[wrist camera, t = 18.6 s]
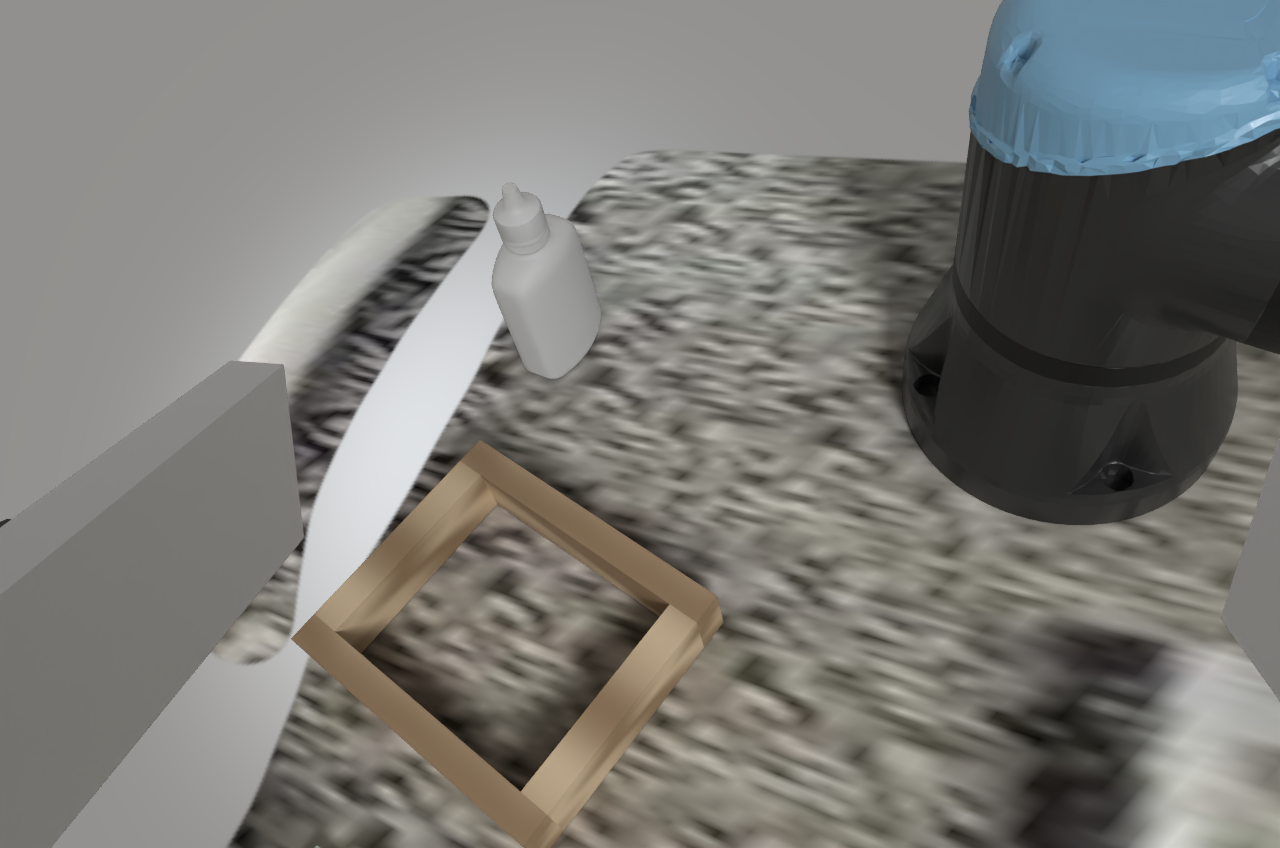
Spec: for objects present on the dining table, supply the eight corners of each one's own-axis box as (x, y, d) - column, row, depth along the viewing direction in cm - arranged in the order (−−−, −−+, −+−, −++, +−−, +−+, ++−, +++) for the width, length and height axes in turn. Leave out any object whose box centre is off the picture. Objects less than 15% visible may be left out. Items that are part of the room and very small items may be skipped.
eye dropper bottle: (505, 344, 59) (438, 192, 49) (586, 295, 60) (537, 137, 50) (541, 392, 56) (478, 242, 46) (625, 340, 57) (581, 183, 47)
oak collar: (496, 469, 54) (479, 439, 51) (723, 622, 47) (716, 596, 45) (318, 661, 49) (290, 638, 47) (540, 860, 43) (522, 846, 40)
